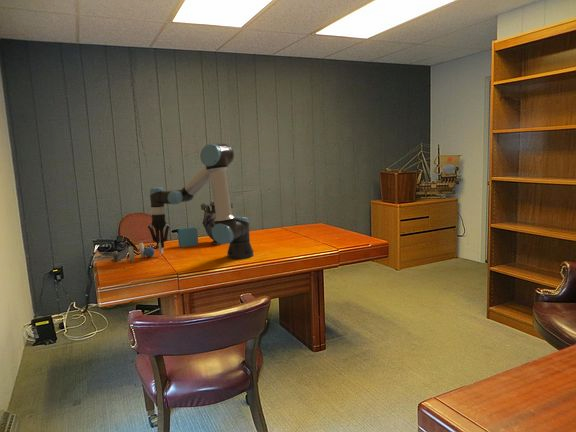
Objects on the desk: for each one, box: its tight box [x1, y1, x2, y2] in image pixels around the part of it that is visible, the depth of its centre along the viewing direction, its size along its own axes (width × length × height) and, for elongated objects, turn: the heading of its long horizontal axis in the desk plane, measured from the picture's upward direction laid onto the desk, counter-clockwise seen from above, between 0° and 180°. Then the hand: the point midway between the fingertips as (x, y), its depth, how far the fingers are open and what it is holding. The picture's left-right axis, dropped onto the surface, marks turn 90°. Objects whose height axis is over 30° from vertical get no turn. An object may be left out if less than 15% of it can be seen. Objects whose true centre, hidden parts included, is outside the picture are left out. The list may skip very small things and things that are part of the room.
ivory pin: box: [138, 242, 146, 259], centre depth 253 cm, size 2×2×8 cm
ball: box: [144, 246, 156, 258], centre depth 253 cm, size 6×6×6 cm
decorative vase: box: [200, 201, 233, 245], centre depth 286 cm, size 21×19×28 cm
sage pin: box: [128, 245, 135, 263], centre depth 244 cm, size 2×2×8 cm
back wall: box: [113, 247, 129, 263], centre depth 254 cm, size 2×20×4 cm, turn 177°
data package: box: [177, 226, 199, 248], centre depth 281 cm, size 12×4×12 cm, turn 119°
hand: (161, 253), depth 253 cm, fingers closed
